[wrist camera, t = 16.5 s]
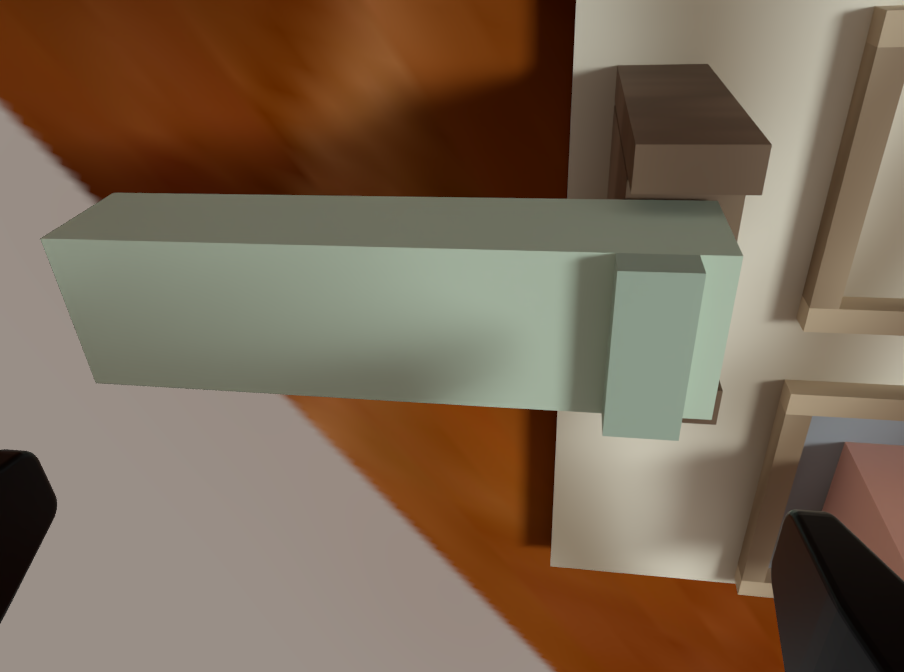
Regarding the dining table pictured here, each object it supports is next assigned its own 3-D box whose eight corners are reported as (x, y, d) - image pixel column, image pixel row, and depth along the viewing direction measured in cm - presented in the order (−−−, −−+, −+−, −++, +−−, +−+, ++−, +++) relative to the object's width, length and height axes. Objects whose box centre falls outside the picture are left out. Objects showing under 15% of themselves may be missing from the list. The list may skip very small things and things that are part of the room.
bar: (717, 201, 12) (751, 274, 9) (693, 348, 13) (717, 443, 11) (113, 192, 14) (16, 253, 11) (154, 324, 15) (76, 402, 13)
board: (1394, -83, 13) (2066, -70, 7) (1010, 585, 24) (1159, 820, 18) (578, -50, 16) (577, -19, 10) (551, 544, 26) (543, 739, 20)
